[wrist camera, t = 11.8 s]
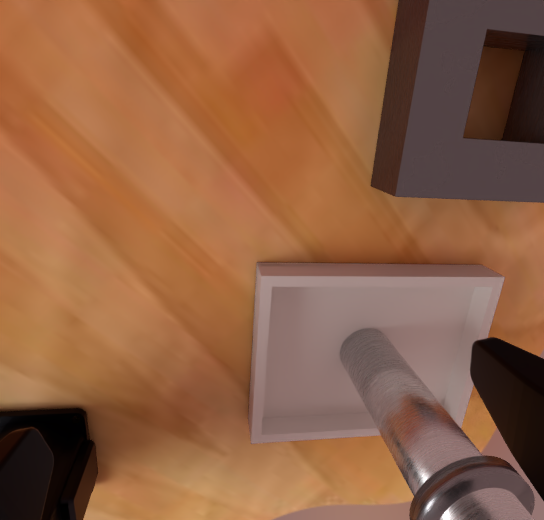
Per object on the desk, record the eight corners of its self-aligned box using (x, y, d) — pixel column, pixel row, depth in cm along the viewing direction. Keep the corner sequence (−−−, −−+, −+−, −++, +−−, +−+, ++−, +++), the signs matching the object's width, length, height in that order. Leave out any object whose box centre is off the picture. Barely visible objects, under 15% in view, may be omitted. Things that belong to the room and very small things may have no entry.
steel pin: (319, 372, 24) (422, 610, 12) (347, 311, 23) (491, 512, 11) (379, 386, 25) (525, 616, 14) (409, 329, 24) (598, 528, 12)
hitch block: (370, 185, 21) (394, 196, 18) (403, -34, 18) (440, -62, 15) (531, 193, 23) (577, 203, 20) (590, -7, 19) (655, -29, 16)
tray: (247, 419, 25) (250, 443, 23) (256, 262, 22) (261, 276, 20) (443, 408, 27) (460, 429, 26) (482, 264, 24) (505, 277, 22)
